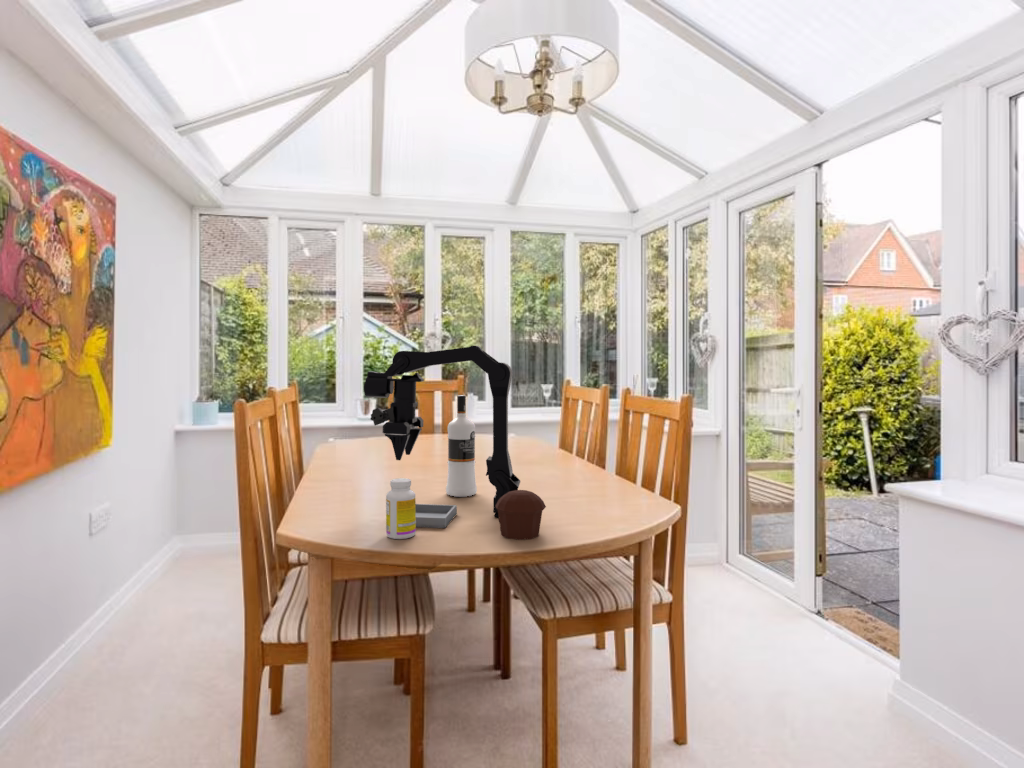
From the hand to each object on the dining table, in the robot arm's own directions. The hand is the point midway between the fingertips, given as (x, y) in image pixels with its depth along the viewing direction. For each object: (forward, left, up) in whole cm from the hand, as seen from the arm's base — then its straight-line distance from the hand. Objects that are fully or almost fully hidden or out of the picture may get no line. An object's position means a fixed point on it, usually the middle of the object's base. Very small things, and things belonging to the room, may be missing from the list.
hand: (403, 457), depth 158 cm
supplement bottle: (-6, +21, -15) cm, 26 cm away
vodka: (-11, -23, -15) cm, 29 cm away
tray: (-8, +7, -15) cm, 18 cm away
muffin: (-33, +16, -15) cm, 40 cm away
